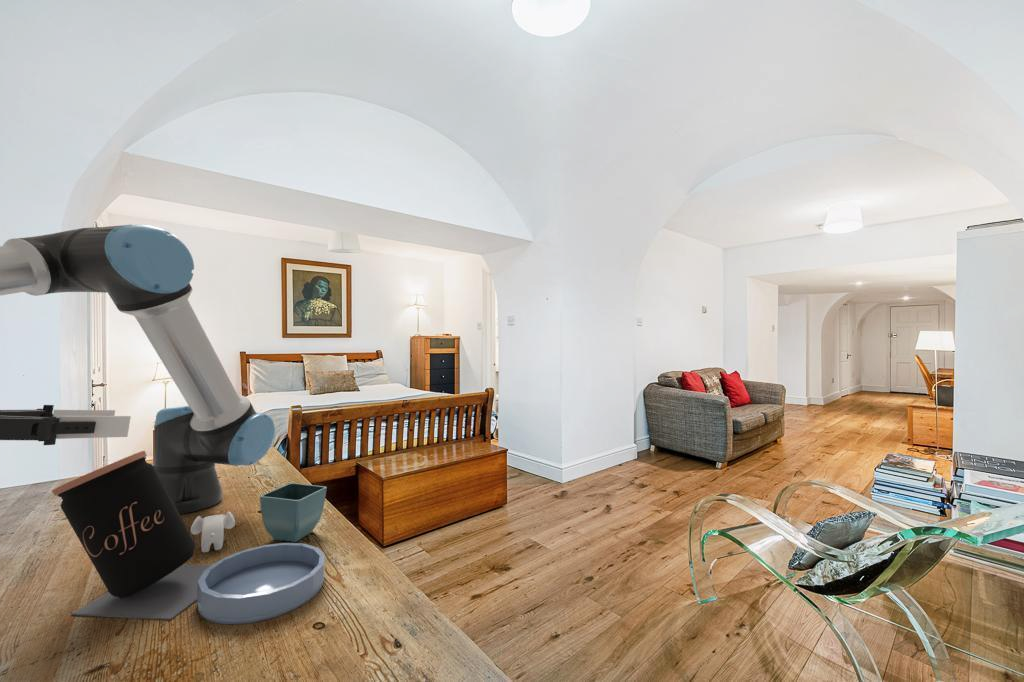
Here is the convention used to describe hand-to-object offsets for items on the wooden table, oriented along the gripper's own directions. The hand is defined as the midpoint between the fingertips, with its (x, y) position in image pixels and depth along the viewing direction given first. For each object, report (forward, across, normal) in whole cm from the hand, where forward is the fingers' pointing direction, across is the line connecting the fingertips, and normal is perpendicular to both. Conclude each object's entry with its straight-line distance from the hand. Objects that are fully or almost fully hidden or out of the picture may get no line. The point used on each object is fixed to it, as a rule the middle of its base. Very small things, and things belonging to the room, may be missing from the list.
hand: (120, 422), depth 62 cm
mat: (+8, -1, -25) cm, 27 cm away
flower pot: (+29, -6, -23) cm, 38 cm away
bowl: (+18, +10, -25) cm, 33 cm away
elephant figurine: (+17, -12, -24) cm, 32 cm away
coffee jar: (+7, -1, -23) cm, 24 cm away
